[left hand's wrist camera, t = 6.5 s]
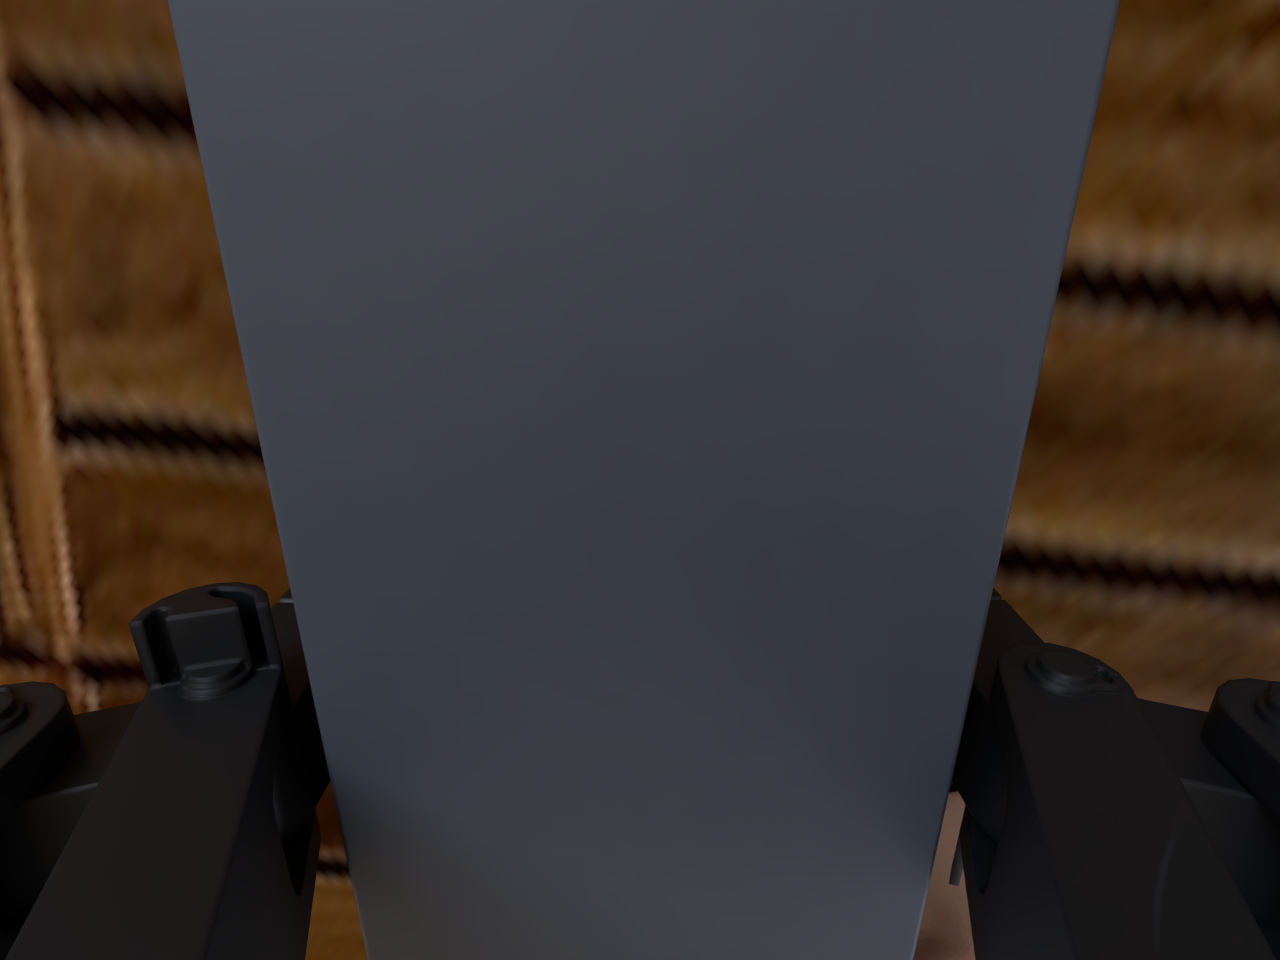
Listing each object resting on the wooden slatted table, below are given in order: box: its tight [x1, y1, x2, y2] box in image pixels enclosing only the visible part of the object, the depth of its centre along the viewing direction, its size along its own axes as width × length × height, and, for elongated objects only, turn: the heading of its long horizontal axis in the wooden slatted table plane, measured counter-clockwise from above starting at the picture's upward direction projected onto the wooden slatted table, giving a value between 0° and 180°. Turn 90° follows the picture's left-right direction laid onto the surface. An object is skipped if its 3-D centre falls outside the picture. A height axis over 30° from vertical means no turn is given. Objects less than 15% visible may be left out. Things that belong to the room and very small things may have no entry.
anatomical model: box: [913, 791, 975, 960], centre depth 26 cm, size 13×4×12 cm
